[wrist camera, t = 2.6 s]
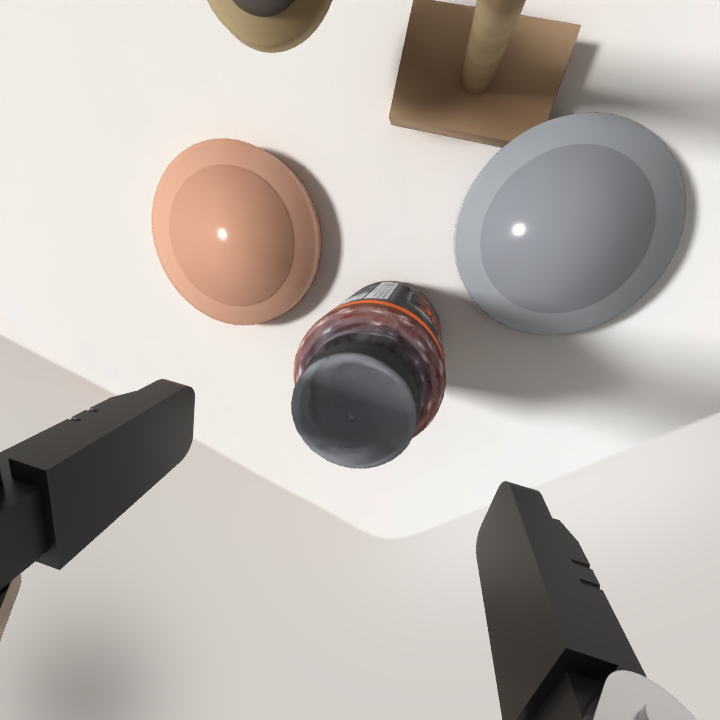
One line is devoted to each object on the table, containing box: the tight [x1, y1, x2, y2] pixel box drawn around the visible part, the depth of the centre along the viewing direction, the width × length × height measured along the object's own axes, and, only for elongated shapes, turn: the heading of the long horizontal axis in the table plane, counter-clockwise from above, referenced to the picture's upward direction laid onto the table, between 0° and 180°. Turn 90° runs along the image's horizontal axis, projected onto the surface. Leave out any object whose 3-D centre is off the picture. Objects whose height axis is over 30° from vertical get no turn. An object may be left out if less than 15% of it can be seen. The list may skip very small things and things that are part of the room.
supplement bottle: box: [291, 281, 446, 469], centre depth 16 cm, size 6×6×11 cm
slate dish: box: [454, 112, 686, 335], centre depth 17 cm, size 10×10×1 cm
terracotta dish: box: [152, 139, 321, 325], centre depth 20 cm, size 10×10×1 cm
